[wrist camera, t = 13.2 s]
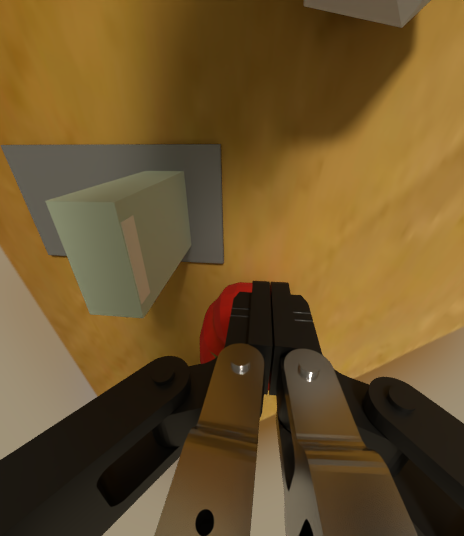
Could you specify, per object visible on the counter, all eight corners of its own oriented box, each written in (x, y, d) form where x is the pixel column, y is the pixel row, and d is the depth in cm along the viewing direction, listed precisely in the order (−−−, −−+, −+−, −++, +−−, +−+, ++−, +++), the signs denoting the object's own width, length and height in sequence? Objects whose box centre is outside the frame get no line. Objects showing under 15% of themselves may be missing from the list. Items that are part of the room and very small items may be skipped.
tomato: (239, 350, 31) (231, 419, 24) (190, 291, 27) (162, 350, 20) (315, 324, 27) (334, 394, 20) (270, 250, 24) (274, 304, 16)
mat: (4, 145, 21) (0, 145, 21) (220, 144, 19) (219, 144, 19) (51, 253, 27) (48, 254, 26) (223, 261, 25) (223, 263, 24)
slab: (144, 170, 21) (44, 201, 11) (184, 171, 20) (114, 202, 11) (157, 243, 24) (89, 314, 15) (191, 245, 24) (144, 318, 14)
